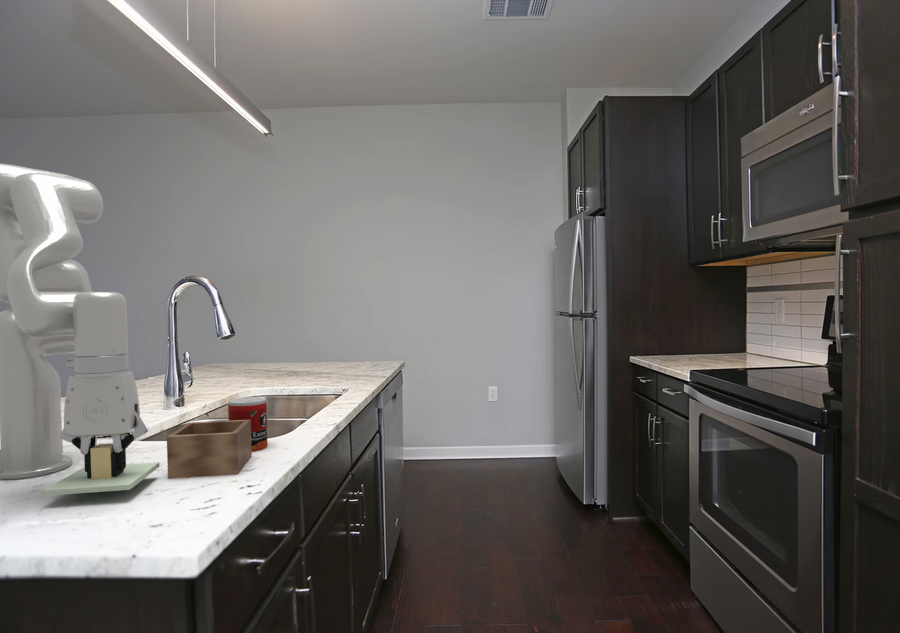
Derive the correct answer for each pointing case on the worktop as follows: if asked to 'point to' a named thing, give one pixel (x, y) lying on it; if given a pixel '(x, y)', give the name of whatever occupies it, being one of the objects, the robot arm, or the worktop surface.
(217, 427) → the box
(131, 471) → the lid
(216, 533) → the worktop surface
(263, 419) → the canned food
